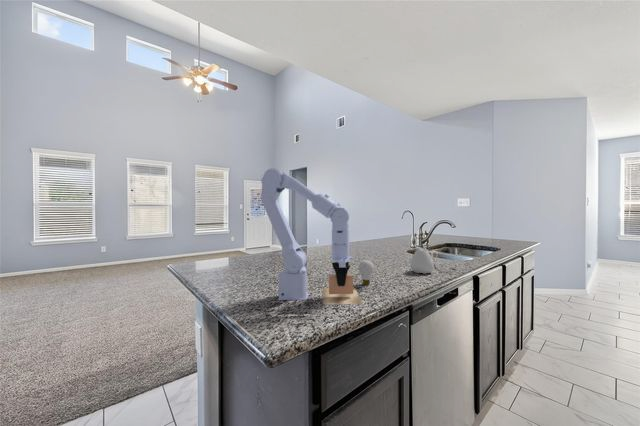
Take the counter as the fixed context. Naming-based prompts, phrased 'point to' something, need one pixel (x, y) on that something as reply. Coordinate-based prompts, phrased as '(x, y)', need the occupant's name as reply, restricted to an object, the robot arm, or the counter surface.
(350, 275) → the tile
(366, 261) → the light bulb
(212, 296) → the counter surface
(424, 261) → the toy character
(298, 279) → the robot arm
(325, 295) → the mat
